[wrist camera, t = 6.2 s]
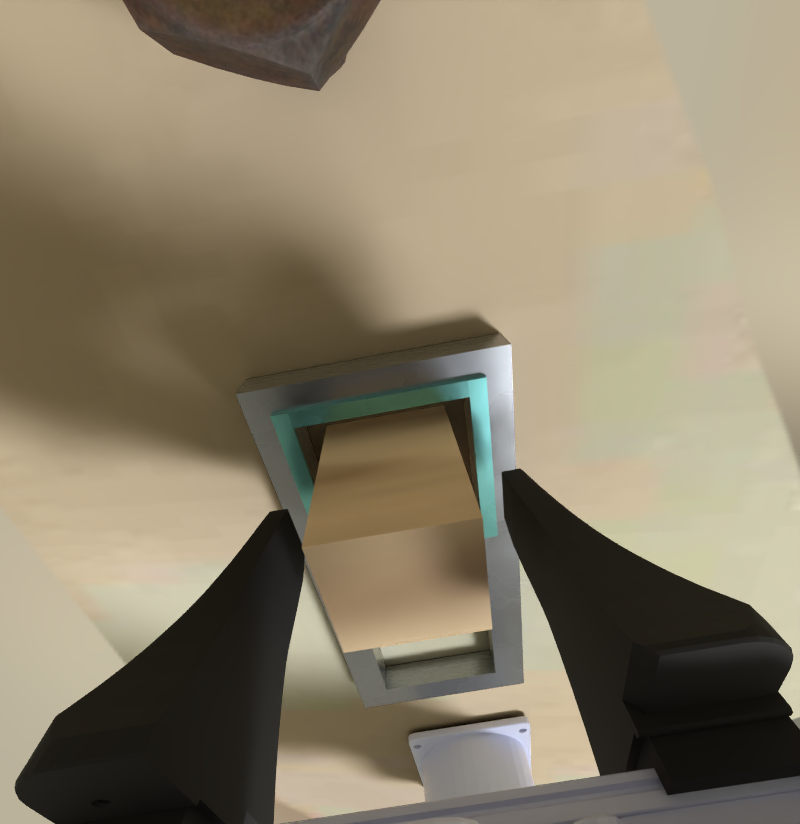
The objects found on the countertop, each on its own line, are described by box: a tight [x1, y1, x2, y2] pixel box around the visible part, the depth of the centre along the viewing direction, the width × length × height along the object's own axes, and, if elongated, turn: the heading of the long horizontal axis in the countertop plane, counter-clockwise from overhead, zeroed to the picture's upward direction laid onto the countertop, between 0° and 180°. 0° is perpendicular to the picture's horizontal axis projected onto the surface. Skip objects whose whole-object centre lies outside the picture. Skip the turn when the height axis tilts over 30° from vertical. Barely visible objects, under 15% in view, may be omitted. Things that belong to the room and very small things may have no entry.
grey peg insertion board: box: [236, 333, 524, 708], centre depth 18 cm, size 20×9×1 cm, turn 10°
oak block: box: [302, 405, 492, 653], centre depth 13 cm, size 4×4×6 cm
